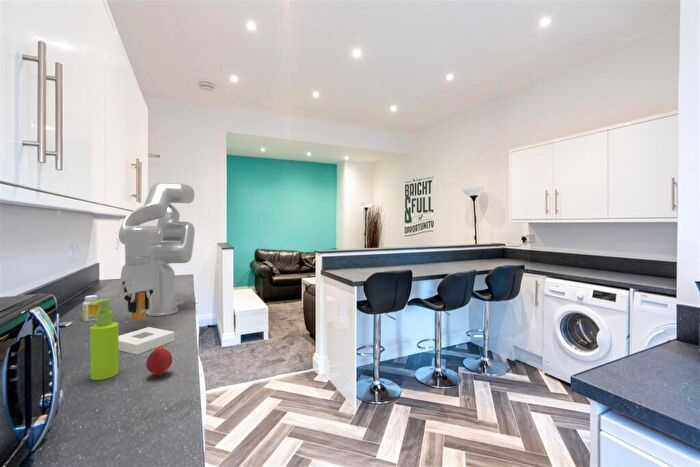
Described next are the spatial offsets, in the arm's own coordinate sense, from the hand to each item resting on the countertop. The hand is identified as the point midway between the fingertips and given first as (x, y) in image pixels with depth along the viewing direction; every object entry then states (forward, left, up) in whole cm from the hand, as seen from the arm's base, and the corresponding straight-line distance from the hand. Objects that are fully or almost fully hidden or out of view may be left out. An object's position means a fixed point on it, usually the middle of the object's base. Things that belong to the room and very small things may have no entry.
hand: (138, 309), depth 117 cm
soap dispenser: (+27, +25, -8) cm, 38 cm away
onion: (+21, +38, -8) cm, 44 cm away
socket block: (+8, +13, -8) cm, 18 cm away
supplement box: (0, 0, -4) cm, 4 cm away
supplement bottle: (-2, -33, -8) cm, 34 cm away
